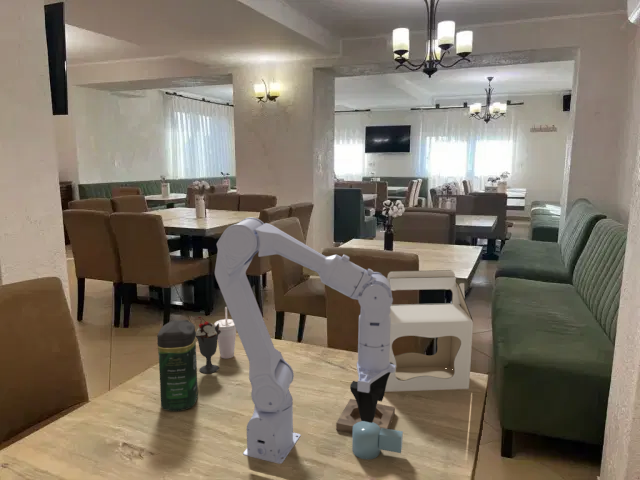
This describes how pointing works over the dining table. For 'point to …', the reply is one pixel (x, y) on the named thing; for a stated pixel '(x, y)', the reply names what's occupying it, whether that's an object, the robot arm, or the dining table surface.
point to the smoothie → (226, 337)
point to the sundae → (208, 344)
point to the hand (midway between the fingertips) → (372, 409)
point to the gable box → (431, 334)
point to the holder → (352, 416)
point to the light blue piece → (374, 440)
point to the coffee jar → (177, 365)
